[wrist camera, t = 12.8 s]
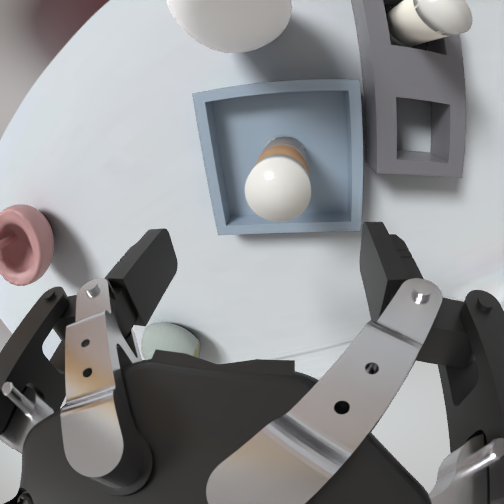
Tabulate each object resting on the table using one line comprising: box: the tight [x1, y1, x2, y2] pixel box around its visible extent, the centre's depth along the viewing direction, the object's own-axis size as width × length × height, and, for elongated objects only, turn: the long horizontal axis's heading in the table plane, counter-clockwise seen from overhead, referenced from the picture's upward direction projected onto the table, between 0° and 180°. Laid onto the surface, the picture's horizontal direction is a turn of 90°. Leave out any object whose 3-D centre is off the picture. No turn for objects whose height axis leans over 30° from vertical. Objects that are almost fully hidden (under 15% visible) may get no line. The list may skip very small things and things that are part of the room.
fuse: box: [386, 0, 472, 47], centre depth 12 cm, size 4×4×10 cm
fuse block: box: [351, 0, 466, 178], centre depth 17 cm, size 18×9×4 cm, turn 7°
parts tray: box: [192, 79, 363, 235], centre depth 24 cm, size 14×14×3 cm
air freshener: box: [142, 322, 200, 360], centre depth 39 cm, size 11×8×10 cm
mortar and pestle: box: [0, 205, 54, 286], centre depth 31 cm, size 12×12×12 cm
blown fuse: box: [245, 135, 311, 222], centre depth 21 cm, size 4×4×10 cm
